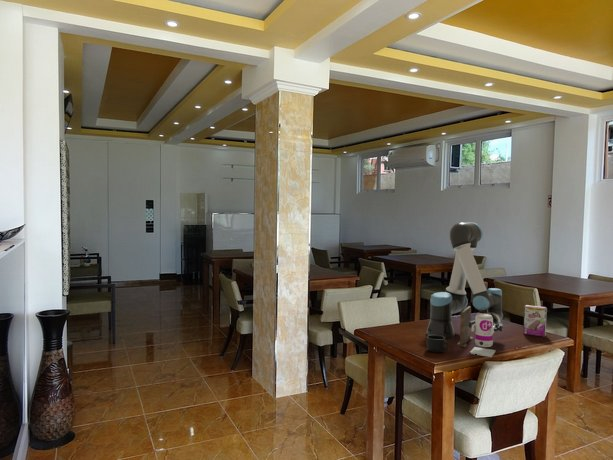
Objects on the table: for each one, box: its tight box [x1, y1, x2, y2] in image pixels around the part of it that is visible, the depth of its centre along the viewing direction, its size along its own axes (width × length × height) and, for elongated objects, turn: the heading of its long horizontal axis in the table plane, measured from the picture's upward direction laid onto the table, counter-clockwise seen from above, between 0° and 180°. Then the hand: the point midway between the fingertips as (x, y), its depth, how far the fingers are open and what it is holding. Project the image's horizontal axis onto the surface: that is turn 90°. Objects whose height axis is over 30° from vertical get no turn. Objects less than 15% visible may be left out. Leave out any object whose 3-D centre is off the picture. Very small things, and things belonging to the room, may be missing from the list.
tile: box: [469, 346, 496, 358], centre depth 223 cm, size 10×10×1 cm
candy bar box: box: [523, 304, 548, 338], centre depth 256 cm, size 11×5×16 cm, turn 58°
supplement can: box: [474, 312, 494, 348], centre depth 222 cm, size 8×8×15 cm
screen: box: [456, 305, 474, 348], centre depth 239 cm, size 4×18×18 cm, turn 147°
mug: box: [426, 334, 449, 353], centre depth 223 cm, size 12×9×7 cm
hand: (482, 329), depth 218 cm, fingers closed on supplement can, 8 cm apart
